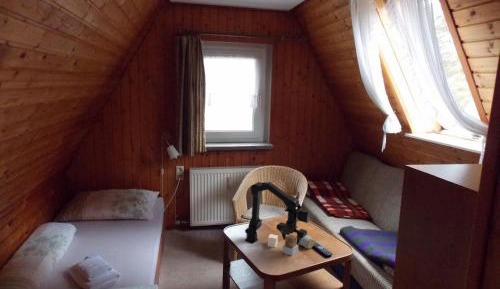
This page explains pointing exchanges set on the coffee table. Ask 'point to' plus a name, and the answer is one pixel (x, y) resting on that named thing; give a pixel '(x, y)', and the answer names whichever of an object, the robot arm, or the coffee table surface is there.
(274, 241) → the cream block
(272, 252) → the coffee table surface
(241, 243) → the coffee table surface
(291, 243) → the walnut block
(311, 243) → the ceramic mug
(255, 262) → the coffee table surface
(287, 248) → the light gray block
